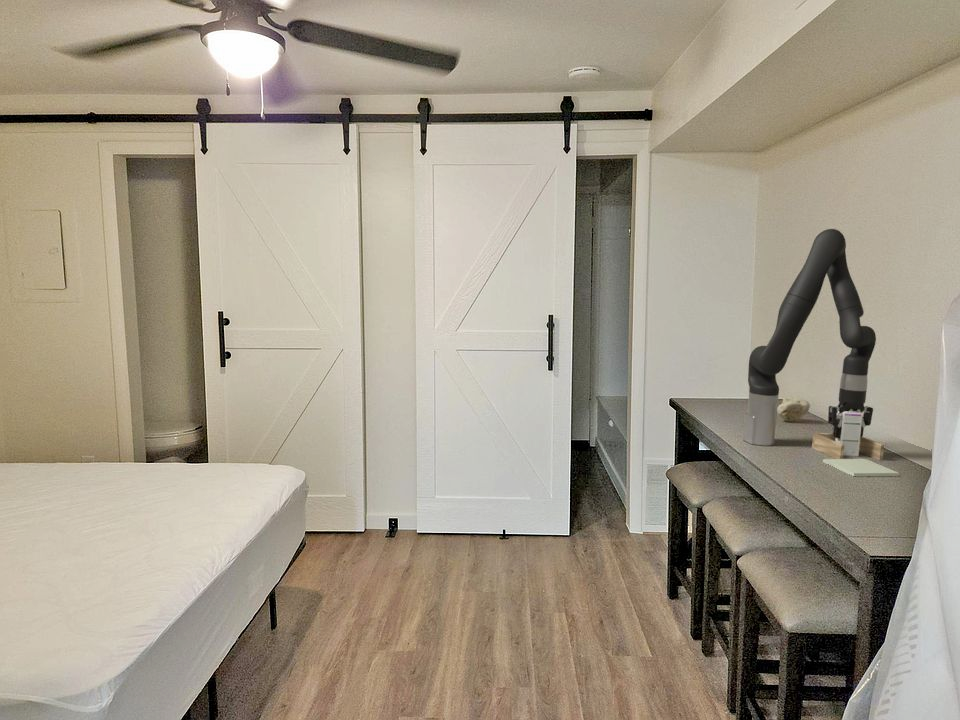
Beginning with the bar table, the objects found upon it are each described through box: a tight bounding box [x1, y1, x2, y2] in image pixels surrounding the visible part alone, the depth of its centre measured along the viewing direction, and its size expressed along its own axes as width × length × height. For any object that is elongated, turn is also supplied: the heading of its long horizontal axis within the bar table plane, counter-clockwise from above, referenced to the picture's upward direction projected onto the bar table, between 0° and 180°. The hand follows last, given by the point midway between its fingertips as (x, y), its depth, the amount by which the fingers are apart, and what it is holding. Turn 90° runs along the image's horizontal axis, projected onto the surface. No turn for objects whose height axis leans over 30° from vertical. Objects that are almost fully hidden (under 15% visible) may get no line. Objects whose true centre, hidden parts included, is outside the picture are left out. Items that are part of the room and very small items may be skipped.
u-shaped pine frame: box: [811, 432, 885, 461], centre depth 208 cm, size 14×14×5 cm
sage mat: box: [822, 458, 900, 478], centre depth 192 cm, size 14×14×1 cm
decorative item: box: [777, 397, 811, 423], centre depth 252 cm, size 12×9×10 cm
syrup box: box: [835, 411, 863, 457], centre depth 208 cm, size 6×6×14 cm
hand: (847, 437), depth 208 cm, fingers closed on syrup box, 6 cm apart
